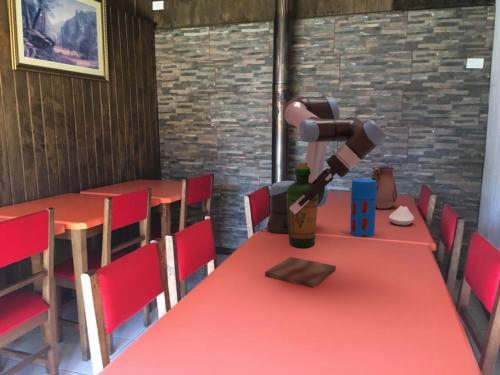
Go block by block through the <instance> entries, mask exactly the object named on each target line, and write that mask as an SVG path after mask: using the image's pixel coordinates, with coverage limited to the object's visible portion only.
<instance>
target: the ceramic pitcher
mask: <svg viewBox="0 0 500 375" xmlns="http://www.w3.org/2000/svg"><path fill="white" fill-rule="evenodd" d="M371 169H373V170H372V174H371V178H370V179H372V180H376V184H377V186H376V209H380V210H383V209H385V210H386V209H390V208H392V206H394V204H396V201H397V198H398V190H397V185H396V182H395V176H394V172H393V171H394V169H395V167H394V166H389V165H383V166H382V165H372V166H371Z"/></svg>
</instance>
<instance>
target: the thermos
mask: <svg viewBox="0 0 500 375" xmlns="http://www.w3.org/2000/svg"><path fill="white" fill-rule="evenodd" d="M376 186H377V184H376V180H372V179H371V178H353V179H352V181H351V193H350V197H351V198H350V221H349V222H350V223H349V224H350V230H349V231H350V235H352V236H354V237H358V238H359V237H360V238H370V237H371V238H372V237H373V236H374V235H375V229H376V226H375V225H376V209H377V208H376Z"/></svg>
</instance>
